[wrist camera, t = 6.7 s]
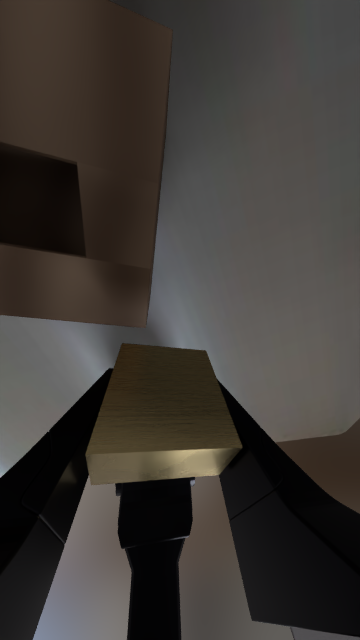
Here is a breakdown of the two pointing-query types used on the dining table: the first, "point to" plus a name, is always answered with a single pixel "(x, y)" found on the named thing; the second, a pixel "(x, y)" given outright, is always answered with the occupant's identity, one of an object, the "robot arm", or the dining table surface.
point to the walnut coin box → (80, 159)
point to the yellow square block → (161, 419)
